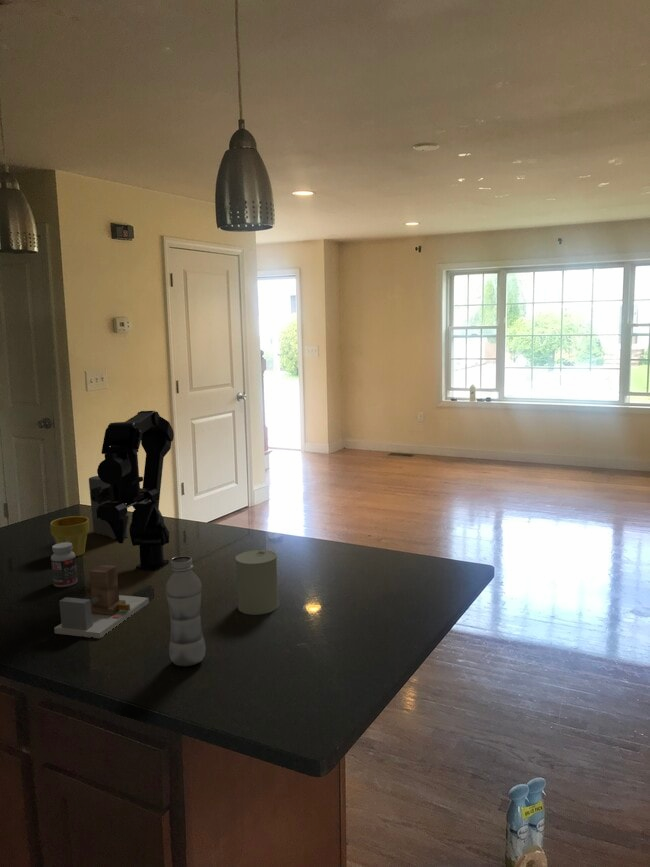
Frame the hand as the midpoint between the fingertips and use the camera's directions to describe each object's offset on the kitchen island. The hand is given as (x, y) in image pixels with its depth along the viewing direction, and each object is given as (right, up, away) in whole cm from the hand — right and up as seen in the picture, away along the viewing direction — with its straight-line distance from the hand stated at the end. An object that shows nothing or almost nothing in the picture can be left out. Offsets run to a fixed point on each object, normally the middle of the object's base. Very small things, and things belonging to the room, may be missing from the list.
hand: (131, 537), depth 165 cm
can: (+32, -13, -14) cm, 38 cm away
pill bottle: (-18, -12, +4) cm, 22 cm away
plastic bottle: (+22, -18, -39) cm, 48 cm away
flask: (-19, -6, +45) cm, 49 cm away
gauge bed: (-1, -15, -17) cm, 23 cm away
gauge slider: (0, -13, -18) cm, 22 cm away
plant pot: (-24, -9, +27) cm, 37 cm away
